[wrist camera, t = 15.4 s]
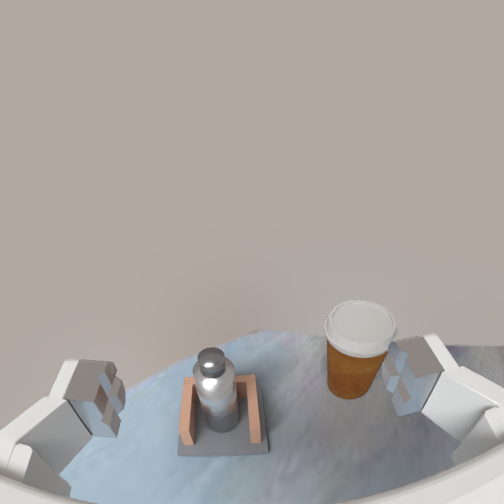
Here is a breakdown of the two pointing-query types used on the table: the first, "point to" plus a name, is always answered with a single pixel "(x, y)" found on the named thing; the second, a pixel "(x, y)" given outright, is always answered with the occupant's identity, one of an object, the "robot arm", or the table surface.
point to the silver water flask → (217, 390)
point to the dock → (230, 443)
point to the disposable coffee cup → (357, 345)
